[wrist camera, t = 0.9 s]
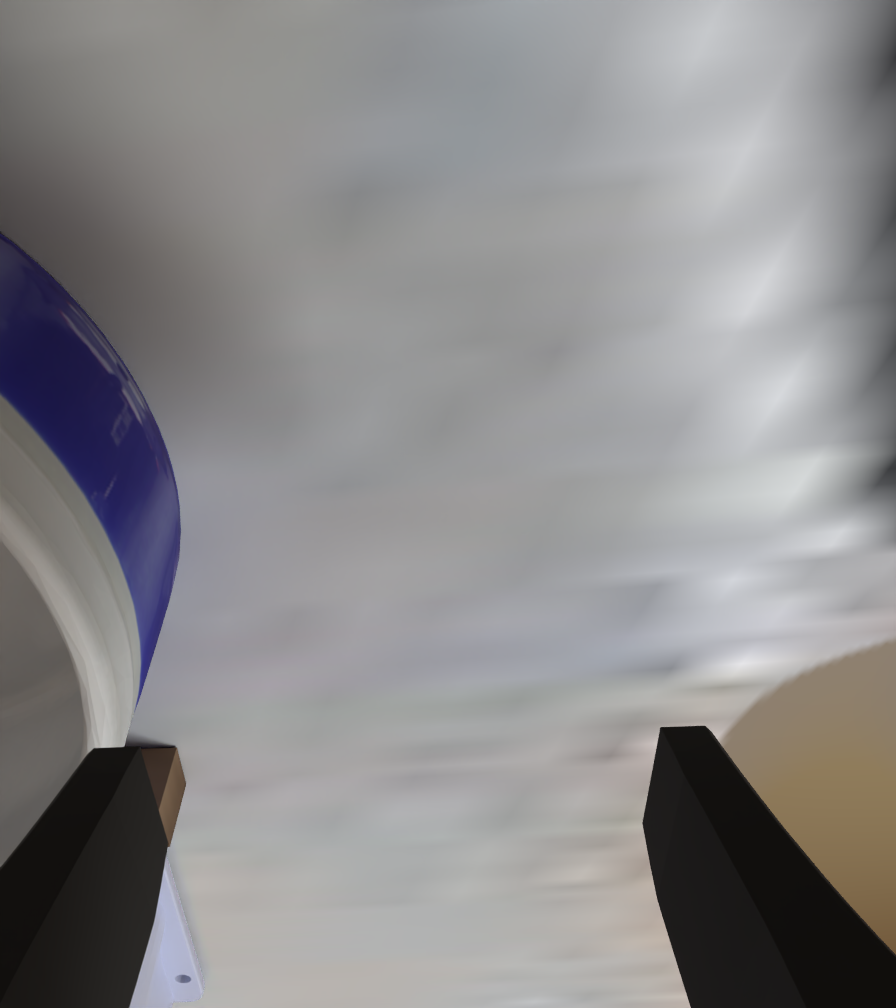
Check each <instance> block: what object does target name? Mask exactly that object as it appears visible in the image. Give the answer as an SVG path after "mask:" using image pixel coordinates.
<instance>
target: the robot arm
mask: <svg viewBox="0 0 896 1008" xmlns="http://www.w3.org/2000/svg"><path fill="white" fill-rule="evenodd" d="M643 829H644V834H645V839H646V845H647V850H648V855H649V861H650V866H651V871H652V876H653V880H654V885H655V890H656V895H657V900H658V903H659V906H660V910H661V913H662V916H663V919H664V923H665V926H666V929H667V932H668V936H669V939H670V942H671V945H672V949H673V952H674V955H675V958H676V962H677V965H678V968H679V971H680V974H681V978H682V981H683V984H684V987H685V990H686V993H687V997H688V1000H689V1003H690V1006H691V1008H896V955H895V954H894V952H893V951H892V950H891V949H890V948H889V947H888V946H887V945H886V944H885V943H884V942H883V941H882V940H881V939H880V938H879V937H878V936H877V935H876V933H875V932H874V931H873V930H872V929H871V928H870V927H869V926H868V925H867V924H866V922H865V921H864V920H863V919H862V918H861V917H860V916H859V915H858V914H857V913H856V912H855V910H853V908H852V907H851V906H850V905H849V904H848V903H847V902H846V901H845V900H844V898H843V897H842V896H841V895H840V894H839V892H838V891H837V890H836V889H835V888H834V887H833V886H832V885H831V884H830V882H829V881H828V880H827V879H826V878H825V877H824V875H823V874H822V873H821V872H820V870H819V869H818V868H817V867H816V866H815V865H814V863H813V862H812V861H811V860H810V858H809V857H808V856H807V855H806V854H805V852H804V851H803V850H802V849H801V848H800V846H799V845H798V844H797V843H796V842H795V840H794V839H793V838H792V837H791V836H790V835H789V833H788V832H787V831H786V829H784V827H783V826H782V825H781V823H780V822H779V821H778V820H777V818H776V817H775V816H774V814H773V813H772V812H771V811H770V809H769V808H768V807H767V805H766V804H765V803H764V802H763V800H762V799H761V798H760V797H759V795H758V794H757V793H756V791H755V790H754V789H753V787H752V786H751V785H750V783H749V782H748V781H747V779H746V778H745V777H744V775H743V774H742V773H741V772H740V770H739V769H738V767H737V766H736V765H735V764H734V762H733V761H732V759H731V758H730V757H729V755H728V754H727V752H726V751H725V750H724V748H723V747H722V746H721V744H720V743H719V742H718V740H717V739H716V737H715V736H714V735H713V733H712V732H711V731H710V730H709V729H708V728H707V727H706V726H685V727H660V733H659V738H658V743H657V749H656V754H655V759H654V765H653V770H652V775H651V781H650V786H649V791H648V797H647V802H646V807H645V813H644V818H643ZM167 847H168V840H167V837H166V833H165V830H164V826H163V823H162V820H161V816H160V813H159V810H158V806H157V803H156V799H155V796H154V793H153V789H152V786H151V783H150V779H149V776H148V772H147V769H146V766H145V762H144V759H143V755H142V752H141V749H140V746H137V747H109V748H93V749H92V750H91V751H90V752H89V753H88V754H87V755H86V757H85V758H84V759H83V761H82V762H81V763H80V765H79V766H78V767H77V769H76V770H75V771H74V773H73V774H72V775H71V777H70V778H69V779H68V781H67V782H66V783H65V785H64V786H63V787H62V789H61V790H60V791H59V793H58V794H57V795H56V797H55V798H54V799H53V801H52V802H51V803H50V805H49V806H48V807H47V808H46V810H45V811H44V812H43V814H42V815H41V816H40V818H39V819H38V820H37V822H36V823H35V824H34V825H33V827H32V828H31V829H30V831H29V832H28V833H27V834H26V836H25V837H24V838H23V840H22V841H21V842H20V844H19V845H18V846H17V847H16V849H15V850H14V851H13V852H12V854H11V855H10V856H9V857H8V858H7V860H6V861H5V862H4V863H3V865H2V866H1V867H0V1008H172V1005H173V1002H192V1001H196V1000H199V999H200V998H201V997H202V996H203V993H204V988H205V982H204V979H203V975H202V972H201V969H200V965H199V962H198V959H197V955H196V952H195V948H194V945H193V942H192V938H191V935H190V932H189V928H188V925H187V922H186V918H185V915H184V912H183V908H182V905H181V902H180V898H179V895H178V891H177V888H176V885H175V881H174V878H173V875H172V871H171V868H170V865H169V861H168V858H167V855H166V853H167Z"/></svg>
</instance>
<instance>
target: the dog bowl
mask: <svg viewBox="0 0 896 1008" xmlns="http://www.w3.org/2000/svg"><path fill="white" fill-rule="evenodd" d="M180 534H181V525H180V506H179V499H178V491H177V486H176V481H175V477H174V472H173V468H172V464H171V461H170V458H169V454H168V451H167V448H166V446H165V443H164V440H163V438H162V435H161V433H160V430H159V428H158V425H157V423H156V421H155V419H154V417H153V415H152V413H151V411H150V409H149V407H148V404H147V402H146V400H145V398H144V396H143V394H142V392H141V391H140V389H139V387H138V386H137V384H136V382H135V381H134V379H133V377H132V376H131V374H130V372H129V371H128V369H127V367H126V366H125V364H124V362H123V361H122V360H121V358H120V357H119V355H118V354H117V353H116V351H115V350H114V348H113V347H112V346H111V344H110V343H109V341H108V340H107V339H106V337H105V336H104V334H103V333H102V332H101V331H100V329H99V328H98V327H97V326H96V324H95V323H94V322H93V321H92V320H91V318H90V317H89V316H88V315H87V313H86V312H85V311H84V310H83V309H82V308H81V307H80V306H79V305H78V303H77V302H76V301H75V300H74V299H73V298H72V297H71V296H70V295H69V294H68V293H67V292H66V291H65V289H64V288H63V287H62V286H61V285H60V284H59V283H57V282H56V281H55V280H54V279H53V278H52V277H51V276H50V275H49V274H48V273H47V272H46V271H45V270H44V269H43V268H42V267H41V266H40V265H39V264H37V263H36V262H35V261H34V260H33V259H32V258H30V257H29V256H28V255H27V254H26V253H25V252H24V251H22V250H21V249H20V248H19V247H18V246H17V245H15V244H14V243H13V242H12V241H10V240H9V239H8V238H6V237H5V236H4V235H2V234H1V233H0V867H1V866H2V865H3V863H4V862H5V861H6V860H7V858H8V857H9V856H10V855H11V854H12V852H13V851H14V850H15V849H16V847H17V846H18V845H19V844H20V842H21V841H22V840H23V838H24V837H25V836H26V834H27V833H28V832H29V831H30V829H31V828H32V827H33V825H34V824H35V823H36V822H37V820H38V819H39V818H40V816H41V815H42V814H43V812H44V811H45V810H46V808H47V807H48V806H49V805H50V803H51V802H52V801H53V799H54V798H55V797H56V795H57V794H58V793H59V791H60V790H61V789H62V787H63V786H64V785H65V783H66V782H67V781H68V779H69V778H70V777H71V775H72V774H73V773H74V771H75V770H76V769H77V767H78V766H79V765H80V763H81V762H82V761H83V759H84V758H85V757H86V755H87V754H88V753H89V752H90V751H91V750H92V749H93V748H109V747H124V746H125V742H126V738H127V734H128V730H129V727H130V724H131V721H132V718H133V715H134V712H135V709H136V707H137V704H138V701H139V698H140V695H141V692H142V689H143V686H144V682H145V679H146V676H147V673H148V670H149V666H150V663H151V660H152V657H153V654H154V650H155V647H156V644H157V640H158V637H159V634H160V630H161V627H162V624H163V620H164V617H165V613H166V610H167V607H168V603H169V600H170V596H171V592H172V588H173V584H174V580H175V575H176V570H177V565H178V561H179V551H180Z"/></svg>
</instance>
